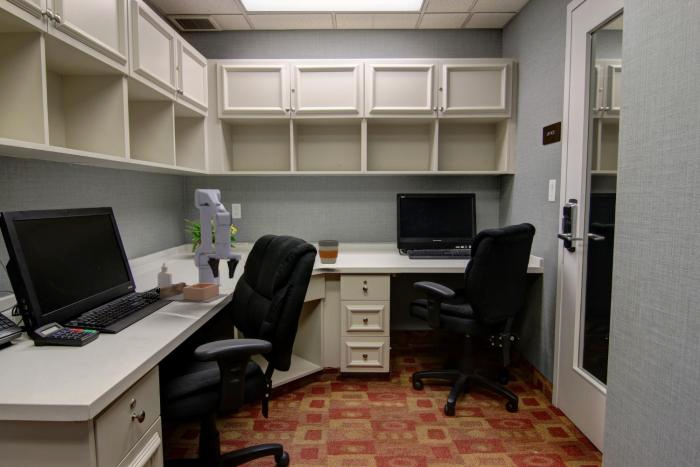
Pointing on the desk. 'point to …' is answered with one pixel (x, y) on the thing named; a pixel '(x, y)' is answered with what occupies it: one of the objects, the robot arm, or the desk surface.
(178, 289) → the end wall
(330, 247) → the reusable coffee cup
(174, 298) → the mat
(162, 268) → the eye dropper bottle
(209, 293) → the socket block
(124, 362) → the desk surface
